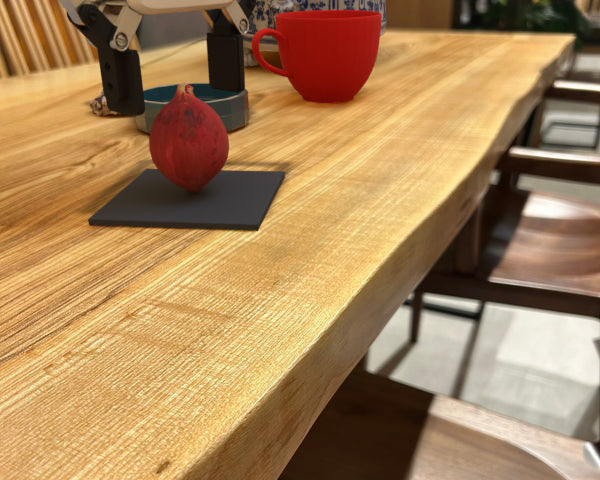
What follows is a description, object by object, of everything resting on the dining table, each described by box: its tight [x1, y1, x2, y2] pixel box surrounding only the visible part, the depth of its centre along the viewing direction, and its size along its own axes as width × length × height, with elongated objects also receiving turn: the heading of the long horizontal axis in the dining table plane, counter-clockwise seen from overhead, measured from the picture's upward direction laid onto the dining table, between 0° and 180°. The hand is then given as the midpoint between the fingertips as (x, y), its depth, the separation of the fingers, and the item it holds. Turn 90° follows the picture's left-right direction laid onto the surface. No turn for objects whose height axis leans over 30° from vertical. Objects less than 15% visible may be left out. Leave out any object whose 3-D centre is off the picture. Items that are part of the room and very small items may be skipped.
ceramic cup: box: [252, 10, 382, 105], centre depth 79 cm, size 13×17×10 cm
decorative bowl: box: [241, 0, 387, 68], centre depth 112 cm, size 42×27×15 cm, turn 169°
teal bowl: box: [134, 82, 250, 134], centre depth 70 cm, size 12×12×4 cm
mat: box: [87, 168, 286, 232], centre depth 49 cm, size 12×12×1 cm
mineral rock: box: [89, 89, 123, 117], centre depth 78 cm, size 11×4×8 cm
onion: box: [148, 82, 230, 193], centre depth 47 cm, size 6×6×8 cm
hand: (180, 100), depth 46 cm, fingers open, 9 cm apart
